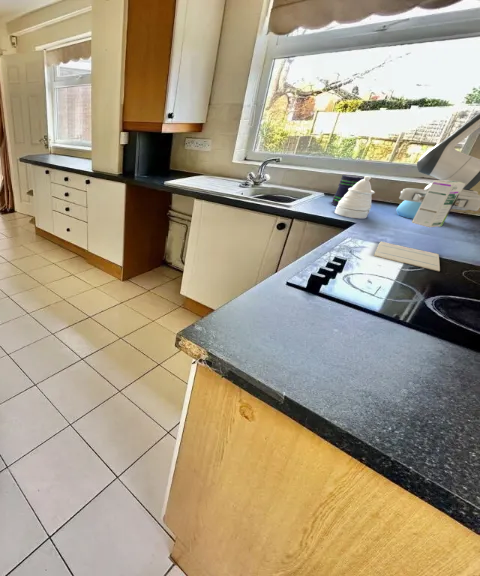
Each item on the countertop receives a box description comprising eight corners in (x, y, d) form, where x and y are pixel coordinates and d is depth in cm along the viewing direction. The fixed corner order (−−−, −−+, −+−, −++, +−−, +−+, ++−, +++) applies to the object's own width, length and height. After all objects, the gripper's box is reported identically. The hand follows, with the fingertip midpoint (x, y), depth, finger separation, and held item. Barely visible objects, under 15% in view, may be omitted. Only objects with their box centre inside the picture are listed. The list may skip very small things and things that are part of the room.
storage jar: (326, 202, 176) (337, 174, 169) (341, 202, 178) (353, 174, 170) (341, 207, 167) (354, 177, 160) (357, 207, 169) (370, 178, 162)
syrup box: (429, 227, 105) (455, 182, 98) (410, 222, 110) (433, 179, 103) (441, 227, 107) (467, 182, 100) (421, 221, 112) (445, 179, 105)
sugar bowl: (415, 213, 162) (428, 190, 156) (443, 222, 149) (458, 197, 143) (386, 212, 162) (398, 188, 156) (412, 220, 149) (425, 195, 143)
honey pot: (369, 220, 146) (388, 179, 137) (336, 215, 150) (353, 176, 142) (362, 213, 156) (380, 175, 147) (332, 209, 161) (347, 172, 152)
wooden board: (438, 254, 108) (438, 254, 108) (439, 271, 95) (440, 270, 95) (380, 242, 118) (380, 241, 118) (373, 255, 105) (374, 254, 105)
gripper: (405, 182, 118) (402, 186, 109) (484, 192, 106) (489, 197, 97) (396, 199, 121) (393, 205, 112) (473, 210, 109) (476, 218, 100)
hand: (438, 201), depth 104 cm, fingers closed on syrup box, 7 cm apart
